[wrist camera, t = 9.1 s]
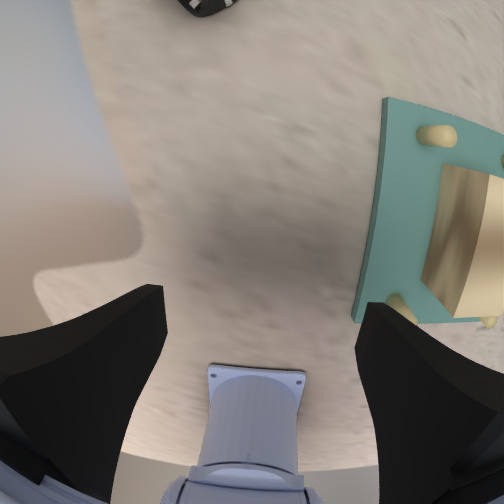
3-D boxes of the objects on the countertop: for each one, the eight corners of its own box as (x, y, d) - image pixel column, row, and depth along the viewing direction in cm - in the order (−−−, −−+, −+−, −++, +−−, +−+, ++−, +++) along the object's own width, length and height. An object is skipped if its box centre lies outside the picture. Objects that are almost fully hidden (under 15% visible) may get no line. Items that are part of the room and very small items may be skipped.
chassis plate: (480, 315, 20) (502, 340, 16) (351, 315, 20) (364, 349, 17) (518, 144, 14) (552, 150, 11) (382, 98, 15) (409, 89, 11)
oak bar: (466, 281, 18) (501, 315, 13) (419, 279, 18) (453, 318, 13) (489, 176, 15) (536, 190, 10) (442, 163, 15) (489, 174, 10)
